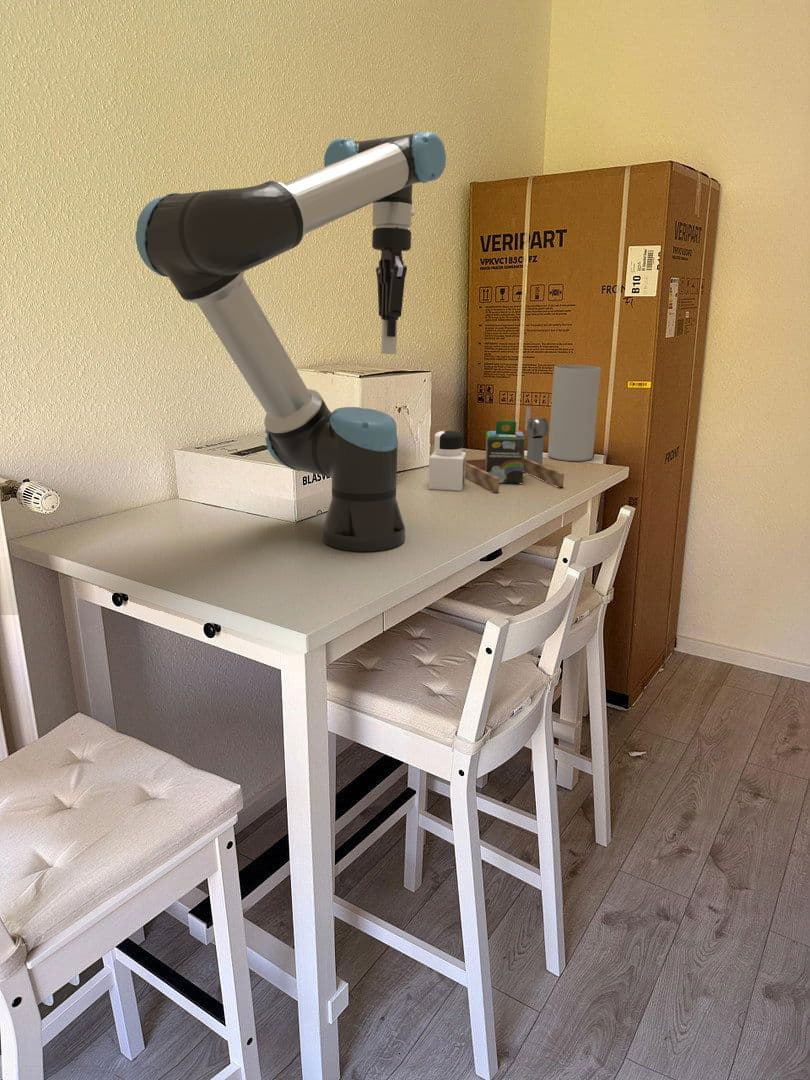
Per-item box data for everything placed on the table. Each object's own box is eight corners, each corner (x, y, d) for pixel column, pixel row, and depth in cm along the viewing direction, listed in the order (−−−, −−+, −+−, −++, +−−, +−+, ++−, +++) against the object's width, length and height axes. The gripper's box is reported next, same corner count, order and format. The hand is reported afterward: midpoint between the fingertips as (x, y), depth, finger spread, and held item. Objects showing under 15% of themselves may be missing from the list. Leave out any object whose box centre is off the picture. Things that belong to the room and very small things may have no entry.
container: (465, 483, 187) (467, 430, 183) (461, 491, 179) (463, 435, 176) (433, 482, 188) (434, 428, 184) (428, 489, 181) (429, 433, 177)
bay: (562, 488, 184) (564, 473, 183) (494, 493, 178) (495, 478, 177) (520, 469, 203) (521, 456, 202) (457, 473, 197) (458, 460, 196)
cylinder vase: (543, 452, 225) (549, 364, 218) (585, 453, 226) (593, 365, 219) (553, 461, 214) (560, 369, 206) (598, 462, 214) (607, 369, 207)
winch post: (545, 468, 205) (549, 407, 200) (527, 469, 203) (531, 408, 198) (535, 464, 209) (540, 404, 205) (518, 465, 208) (522, 405, 203)
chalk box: (520, 476, 196) (524, 417, 191) (523, 485, 187) (527, 423, 182) (483, 475, 196) (486, 416, 192) (484, 483, 187) (487, 422, 183)
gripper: (421, 226, 146) (416, 356, 152) (400, 232, 157) (396, 351, 164) (382, 224, 143) (379, 355, 150) (364, 229, 155) (362, 351, 162)
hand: (388, 353), depth 157 cm, fingers closed
